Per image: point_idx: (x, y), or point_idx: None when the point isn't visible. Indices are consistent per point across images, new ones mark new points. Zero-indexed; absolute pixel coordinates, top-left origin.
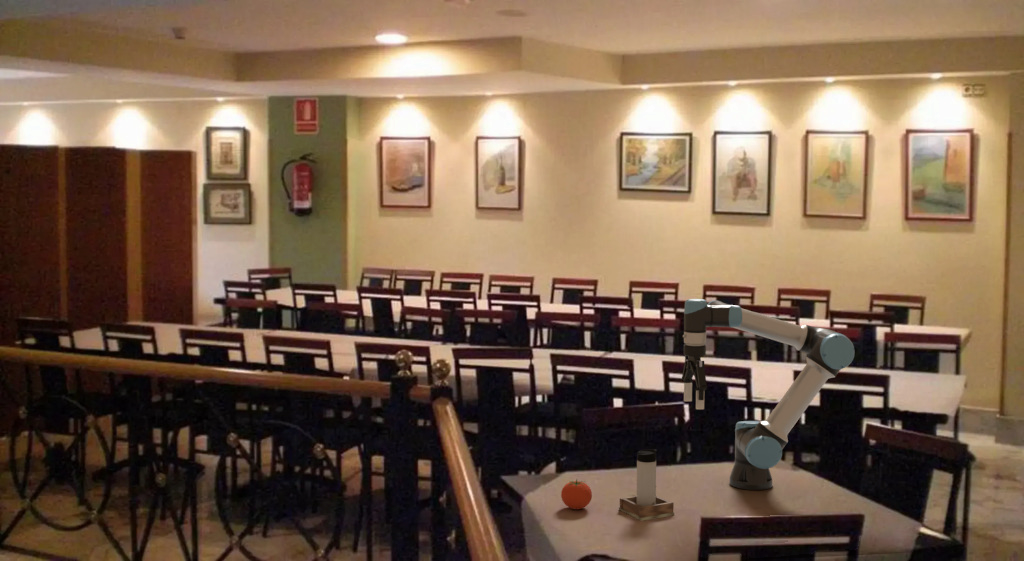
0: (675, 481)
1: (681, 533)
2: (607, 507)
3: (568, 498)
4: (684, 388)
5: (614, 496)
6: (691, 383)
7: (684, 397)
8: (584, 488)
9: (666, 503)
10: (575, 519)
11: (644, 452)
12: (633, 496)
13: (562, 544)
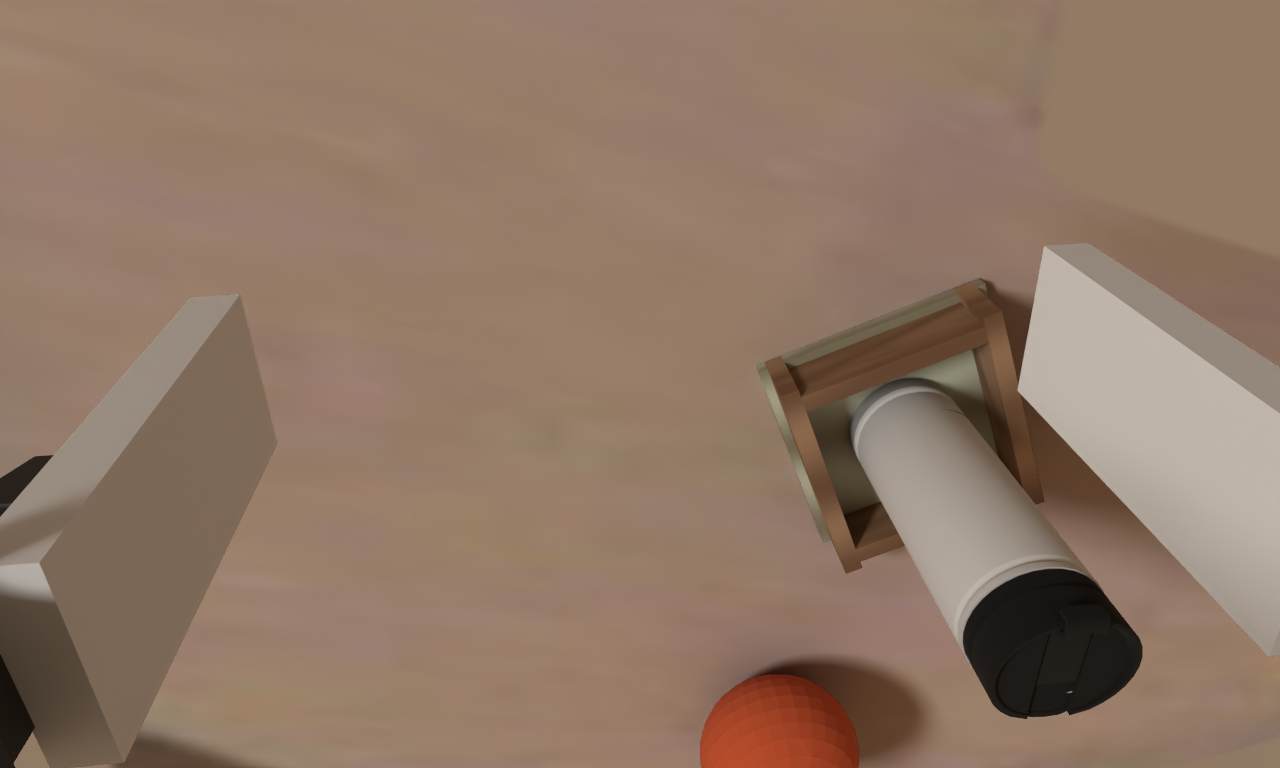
0: (198, 84)
1: (1277, 309)
2: (768, 577)
3: None
4: (169, 637)
5: (574, 525)
6: (56, 572)
7: (253, 491)
8: (843, 765)
9: (1006, 355)
10: (917, 708)
11: (1035, 677)
12: (826, 505)
13: (1194, 760)
